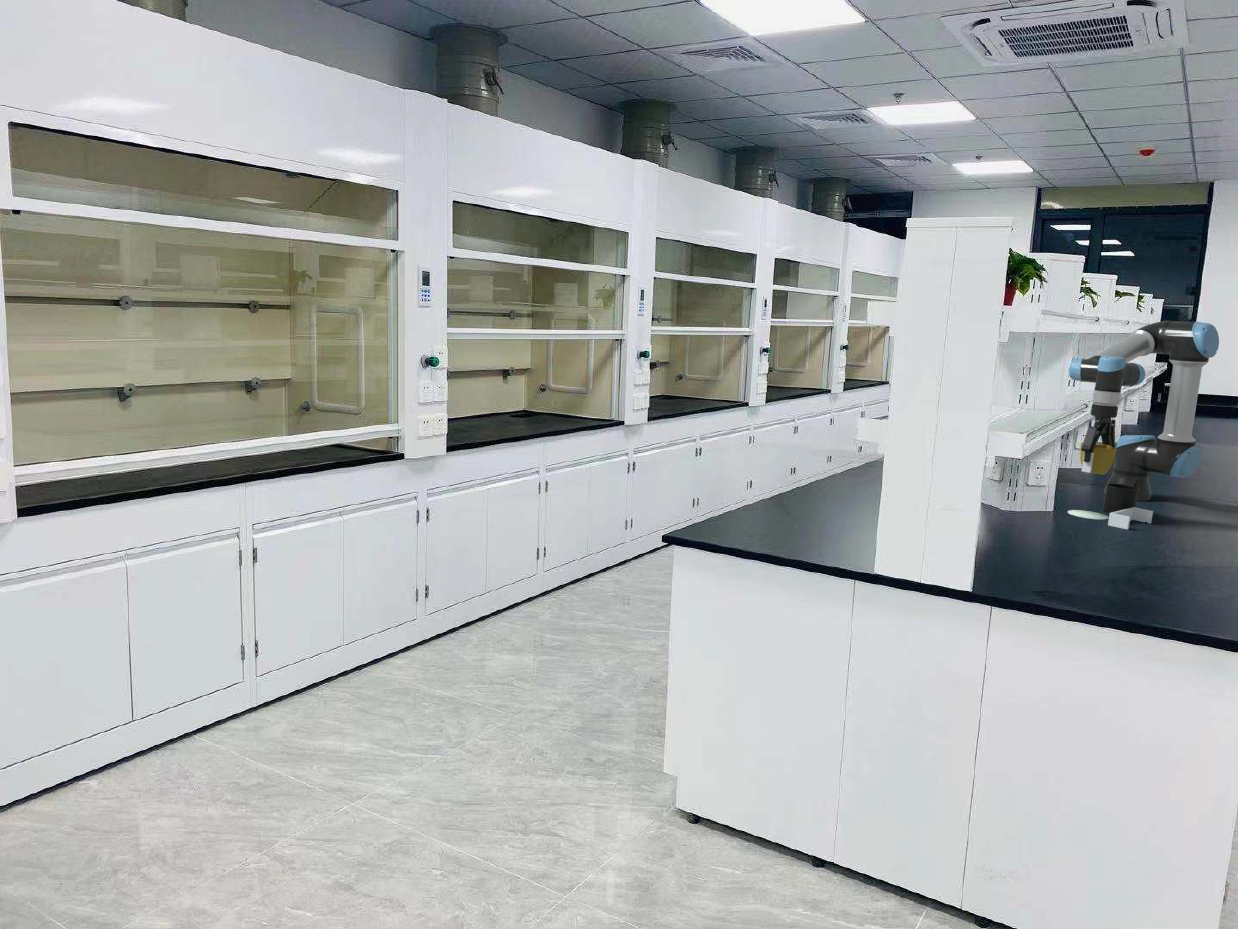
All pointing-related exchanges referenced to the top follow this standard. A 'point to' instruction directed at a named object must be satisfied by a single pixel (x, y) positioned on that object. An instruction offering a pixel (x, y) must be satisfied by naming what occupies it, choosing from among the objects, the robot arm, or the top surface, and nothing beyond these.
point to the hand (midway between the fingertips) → (1094, 470)
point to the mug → (1119, 497)
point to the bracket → (1129, 517)
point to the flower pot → (1101, 458)
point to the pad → (1088, 514)
